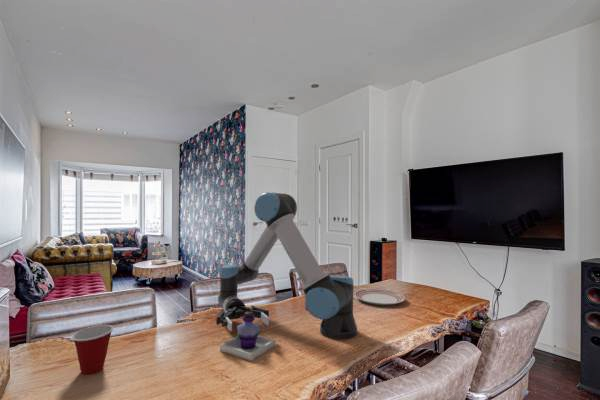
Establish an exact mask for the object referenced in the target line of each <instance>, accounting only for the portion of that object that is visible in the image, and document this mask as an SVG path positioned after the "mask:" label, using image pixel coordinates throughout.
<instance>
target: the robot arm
mask: <svg viewBox="0 0 600 400" xmlns="http://www.w3.org/2000/svg"><path fill="white" fill-rule="evenodd" d="M254 203H255V204H254V207H253V208H254V214H255V216H256V218H257V220H259V221H261V222H264V223H265V224H266V227H265V228H264V230H263V232H262V234H261V235H260V237H259V239H258V240H257V241H256V243H255V245H254V246H253V247H252V249H251V251H250V252H249V254H248V255H247V258H246V259H245V260H244V262H243V264H242V265H241V266H238V265H237V264H224V265H222V266H221V267H220V274H219V276H220V277H219V278H220V283H219V284H220V287H219V289H220V290H219V294H218V296H217V302H218V304H219V306H220V308H222V309H220V312H219V313H218V315H217V316H216V322H215V323H216V325H218V326H219V325H221V327H224V328H225V327H226V328H227V329H228V331H229V332H232V331H233V322H232V321H231V320H238V319H240V318H243V316H244V313H245V312H253V315H254V316H255V318H256V319H260V321H262V322H263V323H264V325H266V326H269V324H270V323H269V321H270V318H269V317H270V312H269V311H270V310H267V309H264V308H261V307H257V306H255V305H251V306H250V307H247V306H246V305H245V303H244V302H243V300H241V299H240V298H239V297H238V285H241V284H245V283H248V282H251V281H255V279H257V278H258V276H259V272H260V271H259V269H260V267H261V266H262V264H263V263H264V261H265V259H266V258H267V257H268V255H269V253H270V252H271V250H272V249H273V247H274V246H275V244H276V243H277V241H278V240H279V241H280V243H281V245H282V247H283V249H284V251H285V252H286V254H287V256H288V258H289V259H290V261H291V263H292V265H293V267H294V268H295V271H296V272H297V274H298V276H299V277H300V280H301V282H302V283H303V288H302V292H303V293H304V296H305V295H306V300H305V299H304V306H305V305H306V308H307V310H306V311H307V312H308V313H309V314H310V315H311V316H312V317H314V318H315V319H319V320H321V322H320V326H319V329H320V331H319V332H320V334H321V335H322V336H324V337H326V338H328V339H333V340H349V339H353V338H356V336H357V335H358V327H357V323H356V319H355V317H354V287H355V285H354V279H353V278H352V277H351V276H346V275H337V274H335V275H333V274H329V273H327V272H324V271H323V270H322V268H321V266H320V264H319V263H318V261H317V259H316V257H315V256H314V254H313V253H312V250H311V249H310V248H309V246H308V243H307V242H306V240H305V238H304V237H303V235H302V234H301V232H300V230H299V228H298V226H297V225H296V223H295V221H294V219H295V217H296V214H297V213H298V212H297V210H298V206H297V202H296V200H295V198H294V197H293V196H291V195H290V194H287V193H279V192H278V193H277V192H273V191H269V192H263V193H261V194H260V195H259V196H258V197H257V199H256V200H255V202H254Z"/></svg>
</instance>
